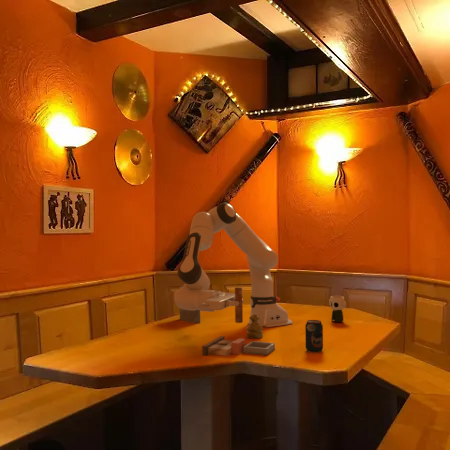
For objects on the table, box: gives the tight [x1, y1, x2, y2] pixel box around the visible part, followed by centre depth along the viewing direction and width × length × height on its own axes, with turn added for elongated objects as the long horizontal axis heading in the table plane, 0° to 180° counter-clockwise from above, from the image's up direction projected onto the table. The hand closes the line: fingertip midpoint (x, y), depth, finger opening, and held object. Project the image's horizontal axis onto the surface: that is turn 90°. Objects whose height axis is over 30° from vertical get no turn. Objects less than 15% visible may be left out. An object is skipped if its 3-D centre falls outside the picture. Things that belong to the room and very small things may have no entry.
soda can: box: [304, 319, 324, 354], centre depth 204 cm, size 7×7×12 cm
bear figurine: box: [328, 295, 347, 323], centre depth 261 cm, size 11×7×13 cm, turn 38°
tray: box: [242, 340, 276, 356], centre depth 204 cm, size 10×10×2 cm
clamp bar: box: [201, 335, 226, 356], centre depth 208 cm, size 2×19×4 cm, turn 157°
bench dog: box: [230, 337, 246, 355], centre depth 203 cm, size 3×8×4 cm, turn 157°
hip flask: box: [178, 286, 201, 324], centre depth 266 cm, size 16×4×20 cm, turn 41°
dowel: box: [234, 286, 244, 324], centre depth 205 cm, size 3×3×14 cm
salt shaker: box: [246, 315, 264, 340], centre depth 229 cm, size 7×7×10 cm
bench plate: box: [208, 339, 234, 357], centre depth 206 cm, size 10×14×2 cm
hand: (240, 302), depth 205 cm, fingers closed on dowel, 3 cm apart
